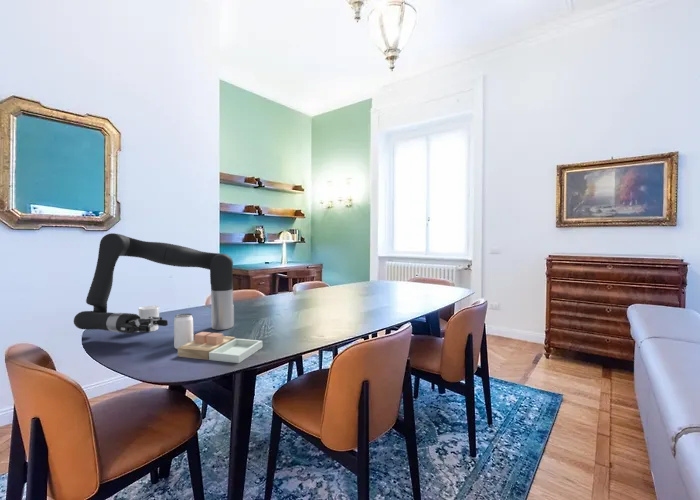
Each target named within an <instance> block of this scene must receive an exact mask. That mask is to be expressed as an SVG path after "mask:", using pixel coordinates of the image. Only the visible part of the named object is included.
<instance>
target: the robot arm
mask: <svg viewBox="0 0 700 500" xmlns="http://www.w3.org/2000/svg"><path fill="white" fill-rule="evenodd" d="M98 247H99V248H98V253H97V254H98V256H97V262H96V265H95V266H96V267H95V271H94V274H93V277H92V281H91V283H90V287H89V291H88V293H87V296H86V299H85V303H86V304H87V305H88V306H92V307H93V310H83V311H80V312H78V313H77V314H76V315H75V316H74V317H73V324H74V326H75V327H76V328H77V329H80V330H102V331H109V332H114V333H119V334H120V333H121V334H122V333H123V334H135V333H140V332H141V331H142V332H143V333H150V332H149V331H150V327H153V326H157V325H158V327H159V326H160V327H161V326H162V327H167V326H168V322H169V321H168V319H163V317H160V316H159V317H148V318H140V317H139V314H137V313H131V312H130V313H129V312H109V311H108V301H109V298H110V295H111V292H112V288H113V282H114V281H113V280H114V272H115V271H114V270H115V267H116V264H117V262H118V259H119V258H120V257H131V258H140V259H144V260H147V261H150V262H154V263H157V264H160V265H166V266H171V267H172V266H173V267H179V268H200V269H201V268H202V269H205V270H208V271H209V270H210V271H209V277H210V299H211V300H210V303H211V305H210V307H211V308H210V309H211V311H210V313H211V315H210V317H211V323H210V324H211V329H212V330H217V331H221V330H229V329H232V328H234V325H235V305H234V282H233V274H234V273H233V265H234V261H233V258H232V256H230V255H229V254H226V253H221V252H220V253H218V252H217V253H216V252H208V251H207V252H206V251H201V250H197V249H194V248H190V247H186V246H184V245H183V246H182V245H179V244H172V243H168V242H160V241H144V240H141V239H137V238H133V237H130V236H127V235H124V234H120V233H115V232H114V233H108V234H105V235H104V236H102V238H101V239H100V242H99V246H98ZM149 323H150V324H151V325H149Z"/></svg>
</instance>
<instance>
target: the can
mask: <svg viewBox="0 0 700 500" xmlns="http://www.w3.org/2000/svg"><path fill="white" fill-rule="evenodd" d="M192 341H194V318H193V316H192V313H187V312H186V313H180V314H175V315H174V319H173V346H174V347H173V348H174V349H175V350H178V348H179V347H181V346H183V345H185V344H188V343H190V342H192Z"/></svg>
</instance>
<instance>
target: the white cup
mask: <svg viewBox="0 0 700 500" xmlns="http://www.w3.org/2000/svg"><path fill="white" fill-rule="evenodd" d="M137 310H138V316H139V317H140V318H148V317H160V305H145V306H140V307H138V309H137ZM149 325H151V324H150V323H149ZM157 330H159V326H158V325H157V326H153V327H150V331H149V332H148V333H150V332H151V333H152V332H155V331H157ZM140 332H142V331H140Z"/></svg>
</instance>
